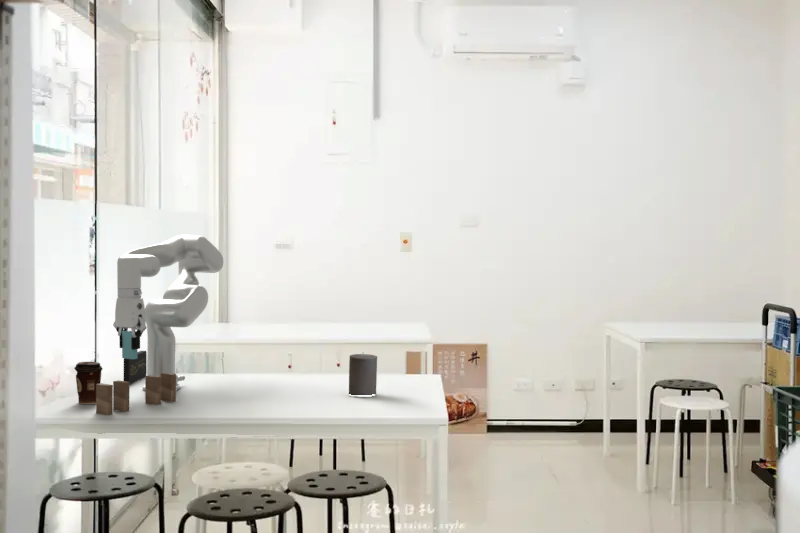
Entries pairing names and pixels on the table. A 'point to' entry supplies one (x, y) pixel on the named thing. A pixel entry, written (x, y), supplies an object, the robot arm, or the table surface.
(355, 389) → the pillar candle
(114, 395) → the domino
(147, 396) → the domino
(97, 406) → the domino far
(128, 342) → the domino
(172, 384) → the domino end
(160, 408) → the table surface
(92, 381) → the coffee cup
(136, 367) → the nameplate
